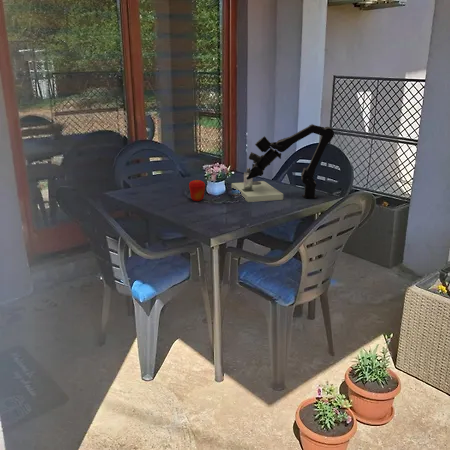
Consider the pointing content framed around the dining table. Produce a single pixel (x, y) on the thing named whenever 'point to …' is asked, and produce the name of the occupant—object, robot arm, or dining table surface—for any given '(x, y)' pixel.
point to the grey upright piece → (247, 181)
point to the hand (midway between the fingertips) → (247, 177)
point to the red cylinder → (197, 190)
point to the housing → (258, 192)
